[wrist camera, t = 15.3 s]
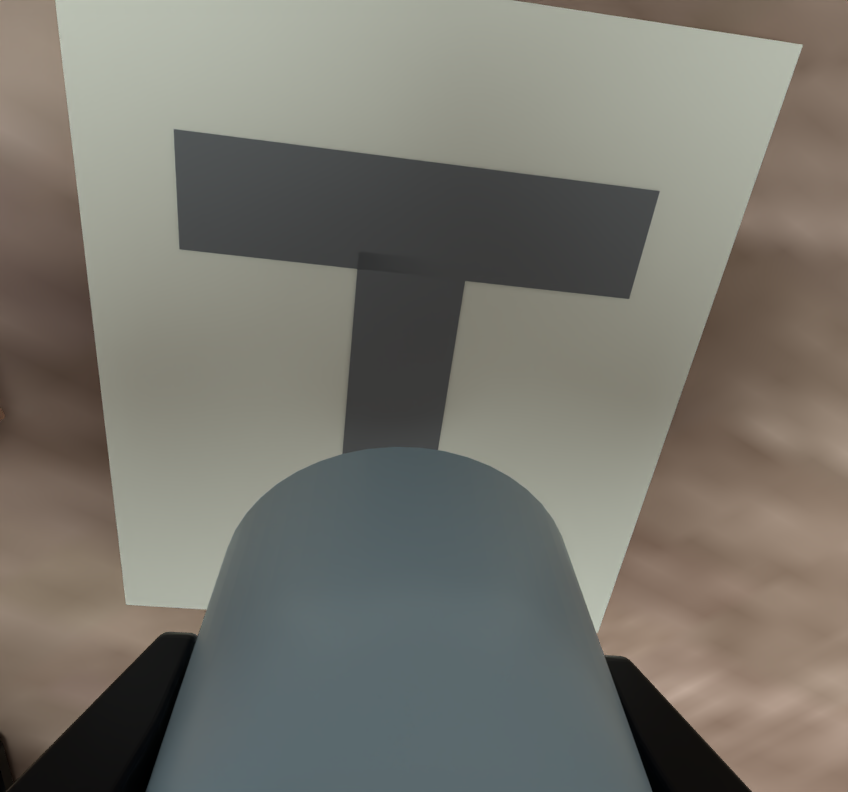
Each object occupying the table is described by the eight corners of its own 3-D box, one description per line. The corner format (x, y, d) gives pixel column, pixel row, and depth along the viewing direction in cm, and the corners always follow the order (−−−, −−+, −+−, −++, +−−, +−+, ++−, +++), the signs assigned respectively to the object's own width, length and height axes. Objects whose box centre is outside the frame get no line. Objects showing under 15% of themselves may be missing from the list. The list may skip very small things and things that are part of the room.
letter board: (592, 617, 20) (598, 634, 20) (133, 589, 19) (125, 606, 18) (786, 44, 13) (804, 44, 12) (62, -65, 12) (45, -72, 11)
